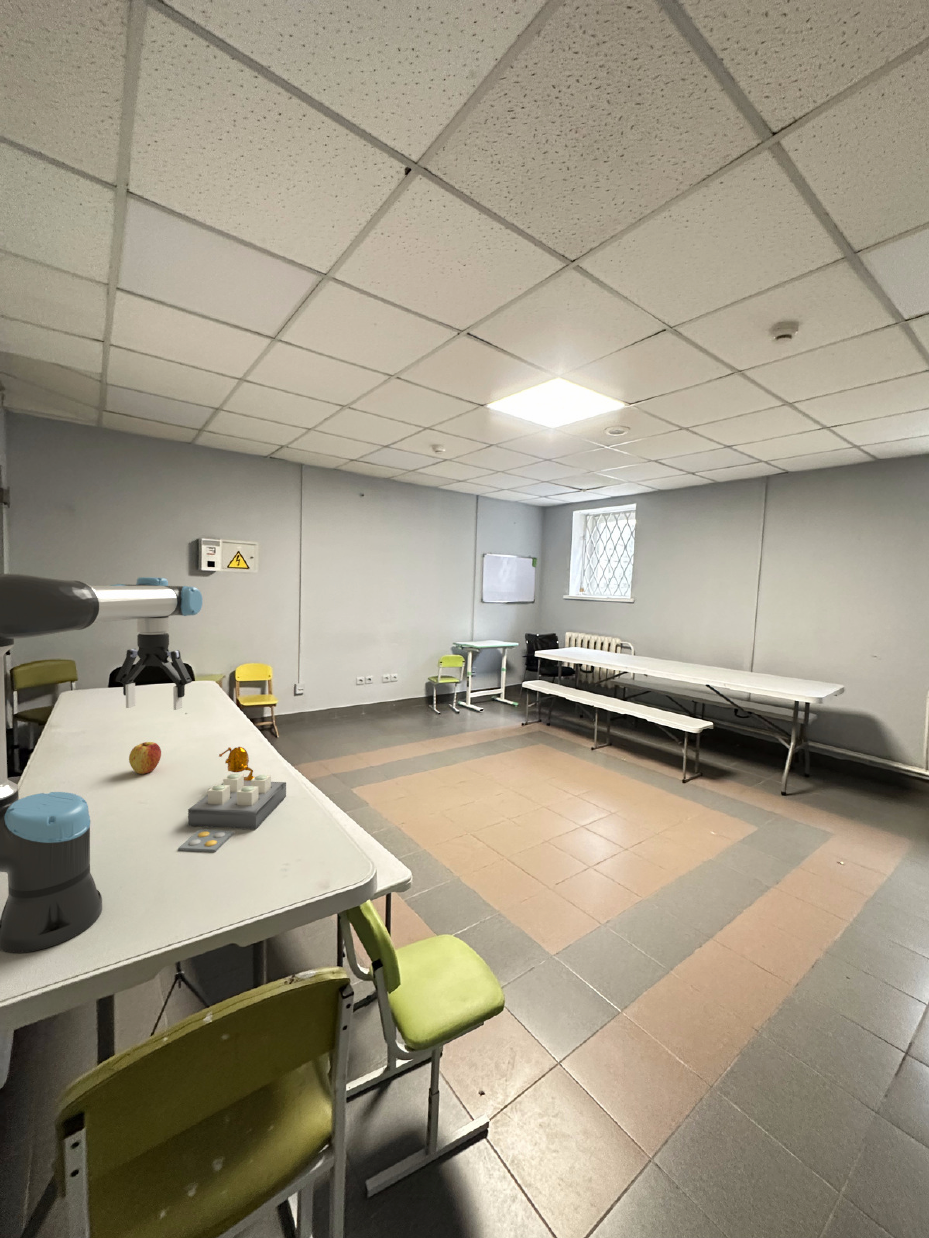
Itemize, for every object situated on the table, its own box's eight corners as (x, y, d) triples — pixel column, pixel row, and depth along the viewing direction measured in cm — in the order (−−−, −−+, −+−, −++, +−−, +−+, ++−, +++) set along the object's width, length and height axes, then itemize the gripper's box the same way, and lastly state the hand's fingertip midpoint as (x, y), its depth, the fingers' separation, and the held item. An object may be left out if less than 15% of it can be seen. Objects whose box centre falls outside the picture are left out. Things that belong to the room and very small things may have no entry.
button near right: (251, 807, 134) (251, 791, 133) (237, 806, 134) (237, 790, 133) (258, 800, 138) (258, 785, 137) (244, 800, 138) (244, 784, 137)
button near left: (222, 806, 134) (222, 790, 134) (207, 805, 134) (207, 789, 134) (229, 799, 138) (229, 784, 138) (215, 799, 138) (215, 783, 138)
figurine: (218, 783, 158) (218, 746, 157) (253, 775, 165) (253, 740, 164) (225, 792, 152) (225, 753, 151) (261, 784, 158) (262, 747, 158)
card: (215, 851, 118) (215, 848, 118) (178, 850, 119) (178, 846, 119) (234, 833, 127) (234, 830, 127) (199, 831, 128) (199, 828, 128)
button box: (255, 829, 130) (255, 812, 129) (188, 826, 130) (188, 809, 130) (286, 796, 150) (286, 782, 149) (227, 794, 150) (227, 779, 150)
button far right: (264, 794, 142) (264, 779, 141) (250, 794, 142) (250, 779, 141) (270, 789, 146) (270, 774, 145) (257, 788, 146) (257, 774, 145)
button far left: (237, 793, 142) (237, 778, 141) (223, 793, 142) (223, 778, 142) (243, 787, 146) (243, 773, 145) (230, 787, 146) (230, 772, 146)
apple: (158, 775, 163) (157, 745, 162) (125, 778, 160) (125, 748, 159) (163, 765, 171) (163, 737, 171) (132, 768, 168) (132, 739, 167)
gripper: (204, 633, 142) (205, 706, 143) (119, 630, 143) (120, 702, 144) (189, 635, 135) (189, 712, 136) (99, 632, 135) (100, 709, 137)
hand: (154, 707), depth 140 cm, fingers open, 13 cm apart
